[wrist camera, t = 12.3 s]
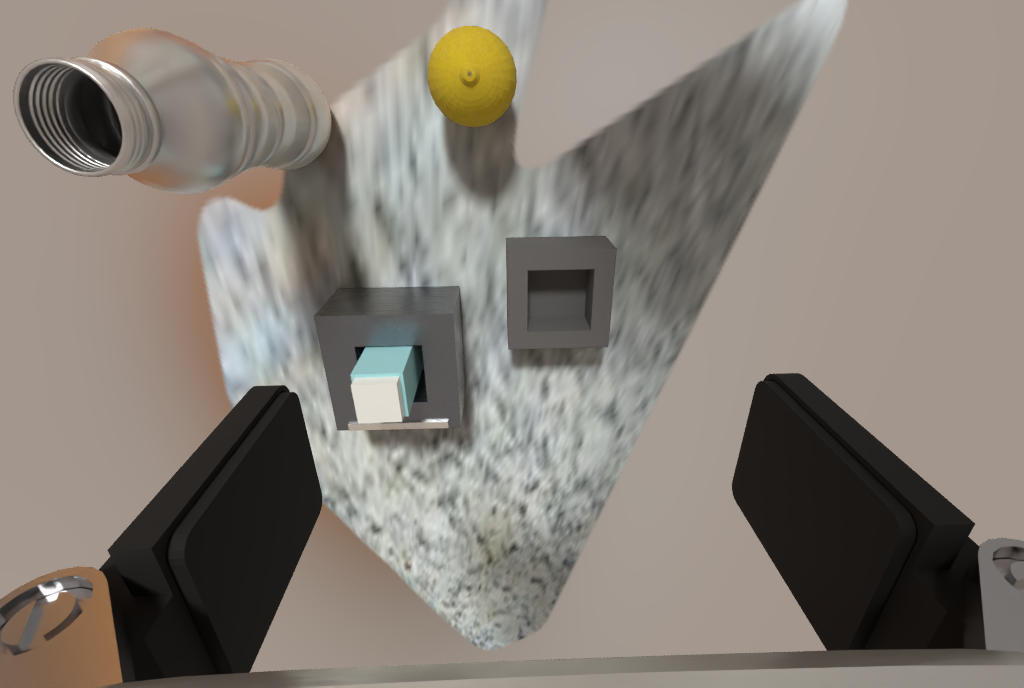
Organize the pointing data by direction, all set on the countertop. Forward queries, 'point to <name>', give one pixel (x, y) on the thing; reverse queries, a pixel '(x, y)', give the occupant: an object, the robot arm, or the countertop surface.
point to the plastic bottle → (169, 112)
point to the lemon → (472, 76)
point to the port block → (396, 322)
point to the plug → (386, 382)
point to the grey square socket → (559, 291)
